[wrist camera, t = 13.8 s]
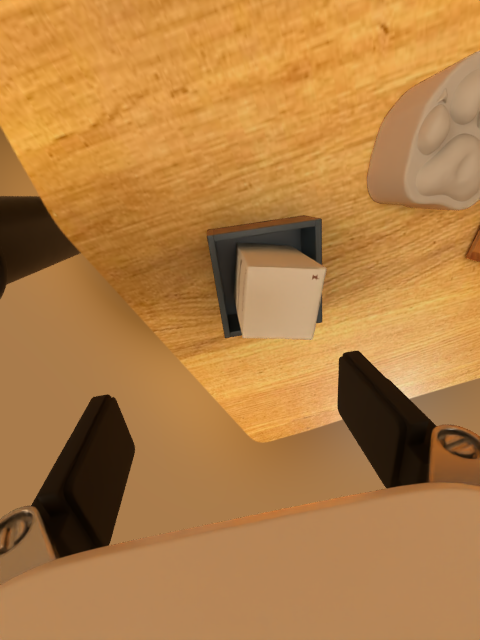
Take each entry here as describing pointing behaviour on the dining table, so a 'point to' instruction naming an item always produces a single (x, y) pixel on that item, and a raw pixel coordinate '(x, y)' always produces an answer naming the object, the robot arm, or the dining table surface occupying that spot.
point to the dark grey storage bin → (286, 231)
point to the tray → (475, 249)
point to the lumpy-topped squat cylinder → (431, 143)
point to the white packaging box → (277, 291)
